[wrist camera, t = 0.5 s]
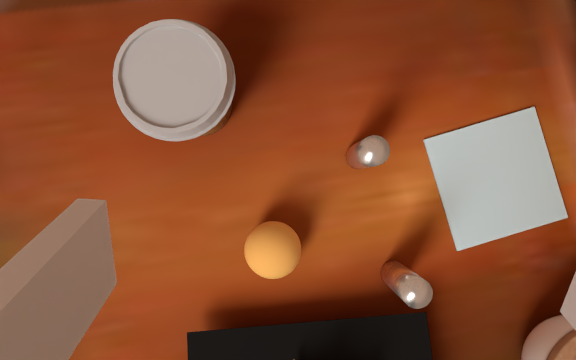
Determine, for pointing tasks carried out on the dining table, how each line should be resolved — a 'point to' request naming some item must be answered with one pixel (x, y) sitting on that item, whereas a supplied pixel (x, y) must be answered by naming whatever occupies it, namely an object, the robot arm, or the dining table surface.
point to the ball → (272, 249)
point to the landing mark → (495, 178)
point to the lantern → (319, 340)
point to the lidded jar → (551, 341)
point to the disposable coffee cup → (174, 80)
